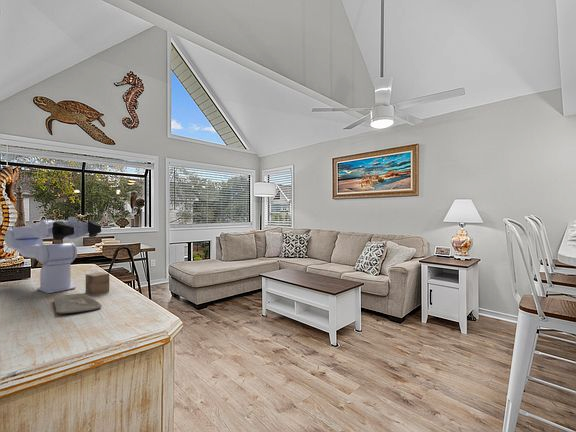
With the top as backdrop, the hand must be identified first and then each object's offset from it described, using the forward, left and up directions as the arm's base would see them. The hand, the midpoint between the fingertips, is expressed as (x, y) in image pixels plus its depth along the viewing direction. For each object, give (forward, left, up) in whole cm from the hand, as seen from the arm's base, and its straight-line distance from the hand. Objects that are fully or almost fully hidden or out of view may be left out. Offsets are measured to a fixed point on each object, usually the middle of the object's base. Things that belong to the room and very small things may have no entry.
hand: (86, 229), depth 92 cm
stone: (+5, -5, -22) cm, 23 cm away
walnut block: (-5, +6, -21) cm, 23 cm away
